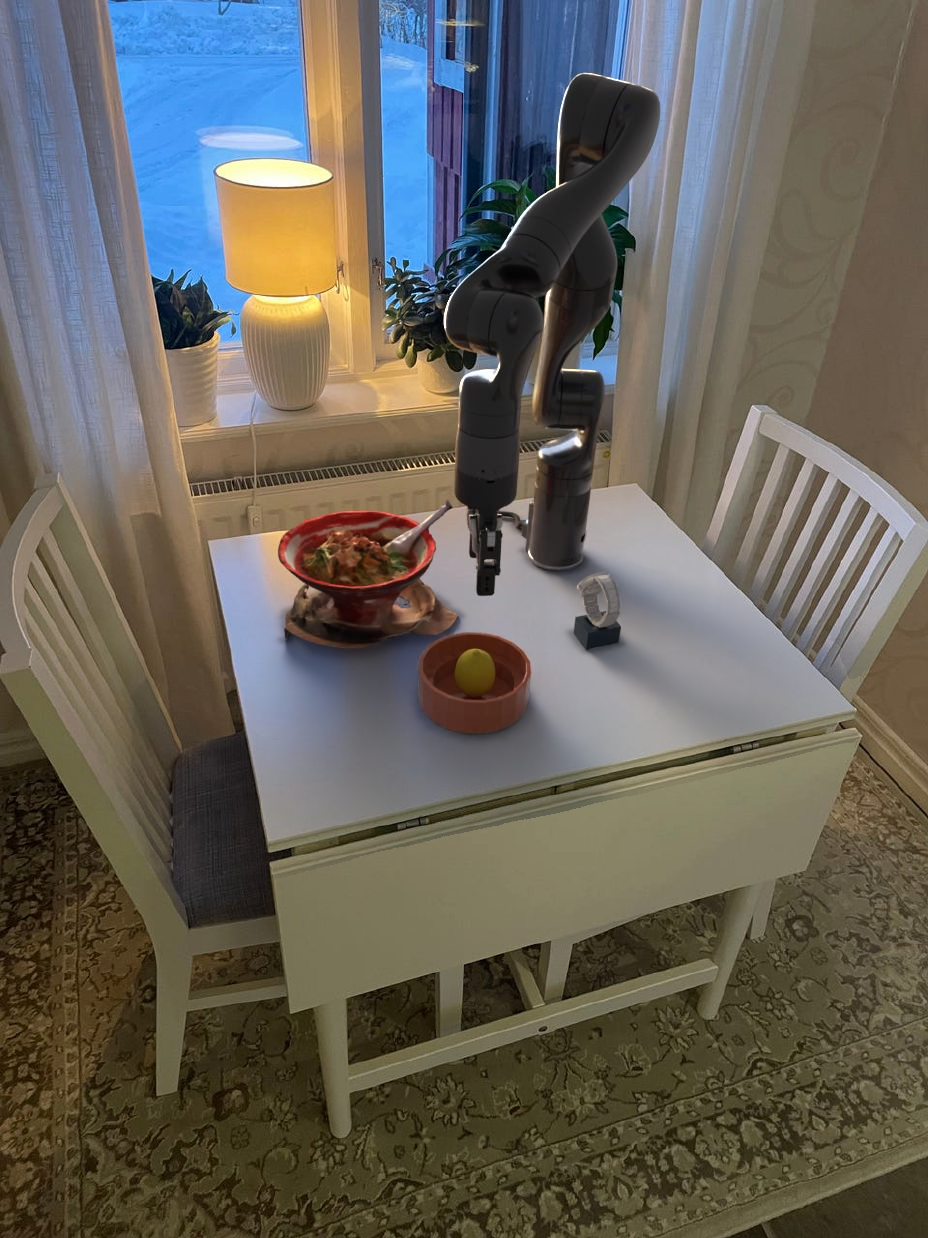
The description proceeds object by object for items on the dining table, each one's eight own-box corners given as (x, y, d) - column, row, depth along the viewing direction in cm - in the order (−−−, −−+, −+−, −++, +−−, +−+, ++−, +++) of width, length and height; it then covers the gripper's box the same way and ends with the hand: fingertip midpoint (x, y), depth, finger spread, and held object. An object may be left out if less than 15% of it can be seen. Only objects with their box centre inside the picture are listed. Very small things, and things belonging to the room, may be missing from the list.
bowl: (397, 689, 131) (397, 656, 128) (483, 652, 138) (485, 620, 135) (461, 752, 121) (462, 718, 118) (550, 709, 129) (553, 675, 125)
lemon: (490, 711, 127) (492, 666, 122) (450, 705, 128) (451, 659, 123) (496, 686, 131) (500, 641, 127) (458, 680, 132) (460, 635, 127)
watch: (599, 619, 146) (608, 560, 140) (624, 649, 140) (634, 589, 134) (567, 626, 145) (574, 566, 138) (590, 656, 138) (599, 595, 132)
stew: (433, 559, 159) (434, 474, 150) (478, 641, 141) (482, 550, 131) (268, 583, 152) (258, 495, 142) (292, 673, 133) (283, 579, 124)
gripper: (449, 434, 115) (447, 546, 124) (461, 491, 103) (457, 609, 113) (510, 433, 115) (502, 544, 125) (527, 489, 104) (518, 606, 114)
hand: (481, 575), depth 119 cm, fingers open, 8 cm apart
